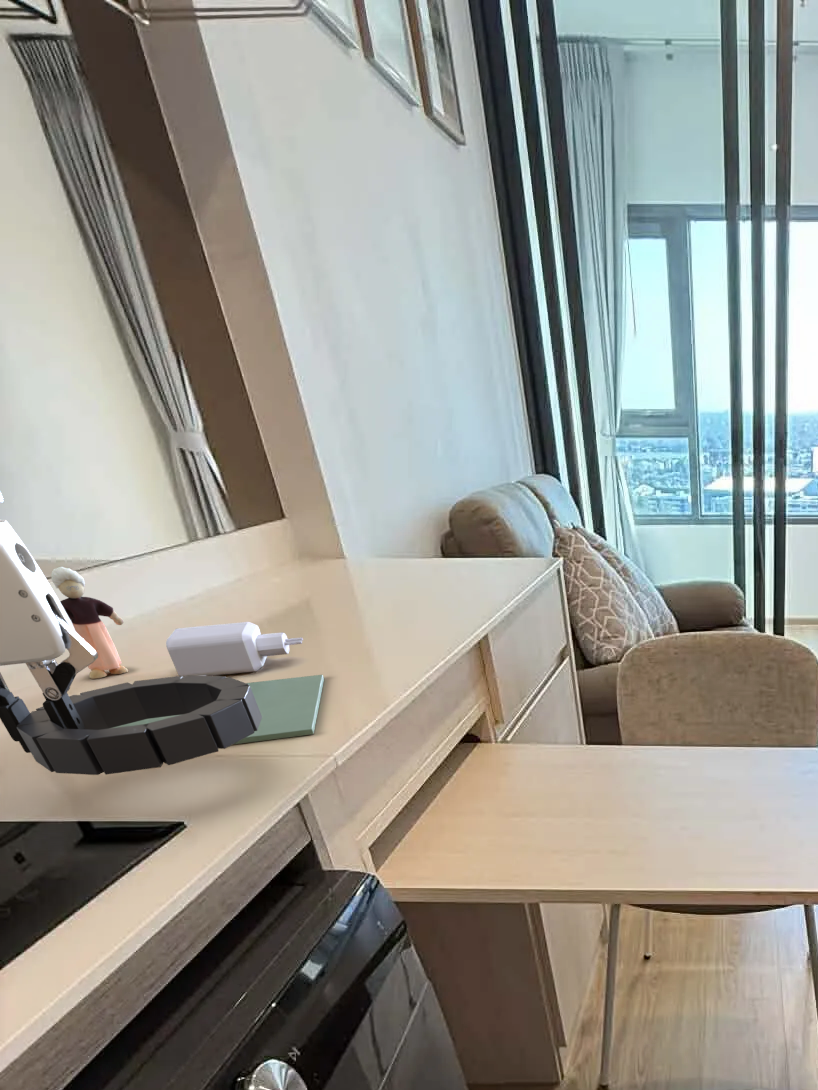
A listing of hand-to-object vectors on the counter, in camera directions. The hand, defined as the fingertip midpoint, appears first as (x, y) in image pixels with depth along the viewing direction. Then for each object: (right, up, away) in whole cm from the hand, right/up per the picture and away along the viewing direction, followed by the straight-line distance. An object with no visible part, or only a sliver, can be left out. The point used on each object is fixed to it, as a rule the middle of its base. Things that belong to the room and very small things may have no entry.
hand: (55, 743), depth 75 cm
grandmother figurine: (-24, +22, +37) cm, 49 cm away
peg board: (0, +10, +22) cm, 24 cm away
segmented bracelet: (+7, +1, +2) cm, 8 cm away
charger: (-6, +23, +38) cm, 45 cm away
